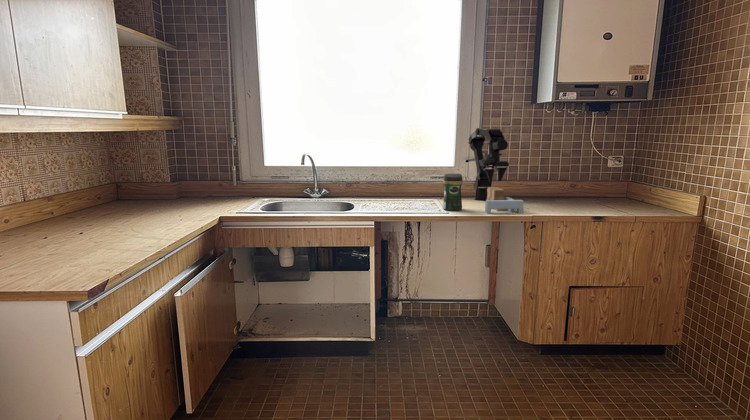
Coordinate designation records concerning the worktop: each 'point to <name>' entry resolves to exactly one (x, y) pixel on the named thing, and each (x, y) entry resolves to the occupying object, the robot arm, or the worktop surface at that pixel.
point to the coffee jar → (452, 192)
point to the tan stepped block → (495, 195)
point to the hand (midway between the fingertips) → (495, 181)
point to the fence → (504, 205)
